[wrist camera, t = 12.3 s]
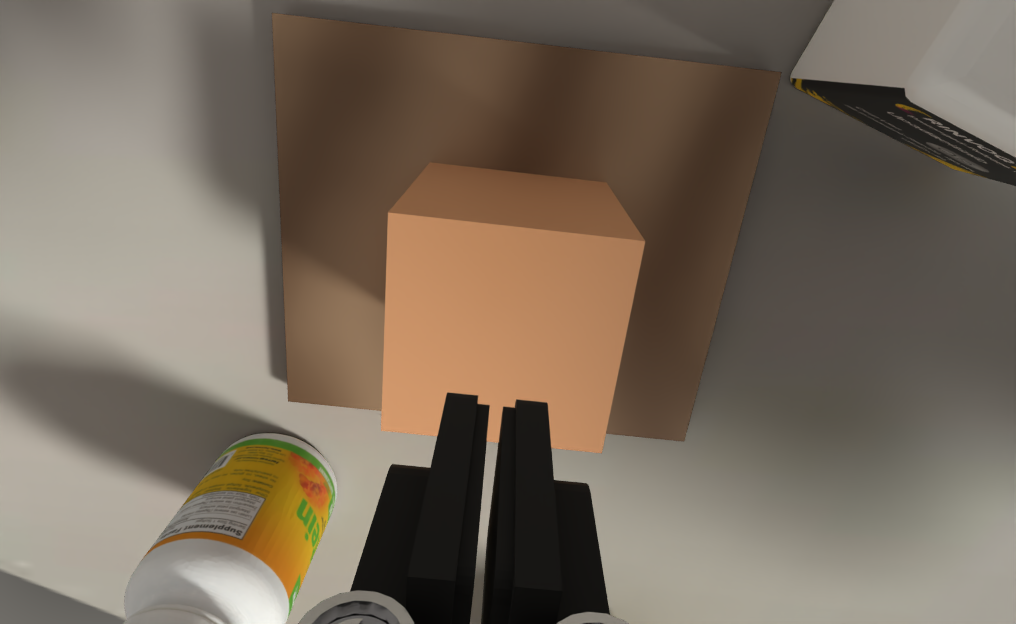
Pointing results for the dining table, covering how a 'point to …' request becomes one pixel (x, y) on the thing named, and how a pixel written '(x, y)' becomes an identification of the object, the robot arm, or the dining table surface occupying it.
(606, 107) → the base board
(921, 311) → the dining table surface
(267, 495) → the supplement bottle
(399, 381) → the tan wooden cube
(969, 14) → the medicine bottle
